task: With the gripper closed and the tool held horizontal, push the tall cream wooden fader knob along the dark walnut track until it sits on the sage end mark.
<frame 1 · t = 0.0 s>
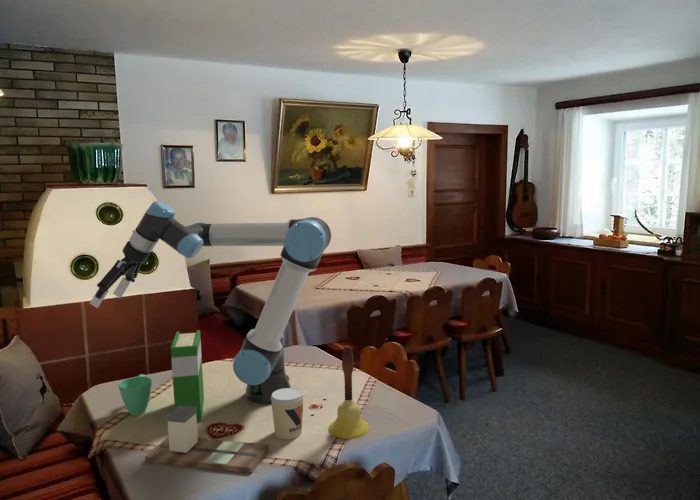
hand: (105, 300, 172), 36 cm above the table, tool tilted 35°, fingers open, 13 cm apart
coffee cup: (288, 433, 157), on the table
fader knob: (182, 428, 146), point 7 cm above the table, slide at 0.0 cm
fader track: (208, 455, 145), on the table
mug: (139, 409, 176), on the table
hardback book: (190, 411, 174), on the table
handbell: (349, 429, 159), on the table
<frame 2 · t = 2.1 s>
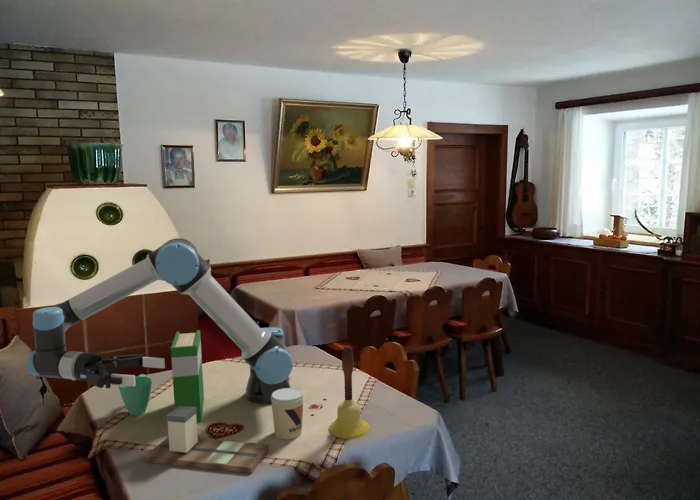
hand: (150, 371, 146), 22 cm above the table, tool horizontal, fingers open, 13 cm apart
nothing on the table moved.
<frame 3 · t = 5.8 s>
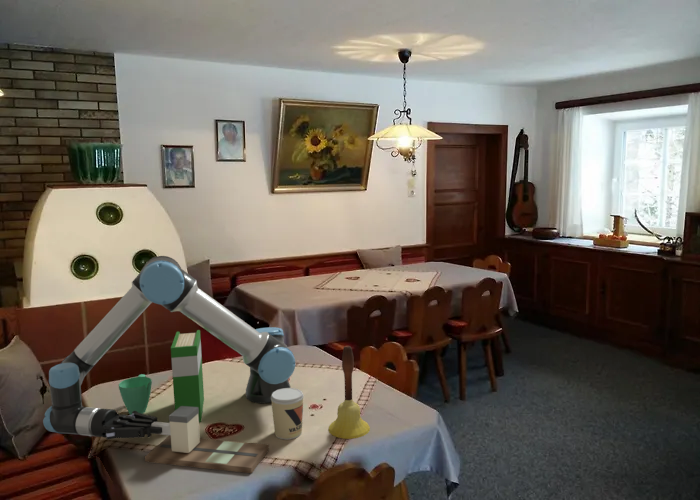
hand: (174, 429, 146), 7 cm above the table, tool horizontal, fingers closed
fader knob: (185, 429, 146), point 7 cm above the table, slide at 0.7 cm
everything else where it was.
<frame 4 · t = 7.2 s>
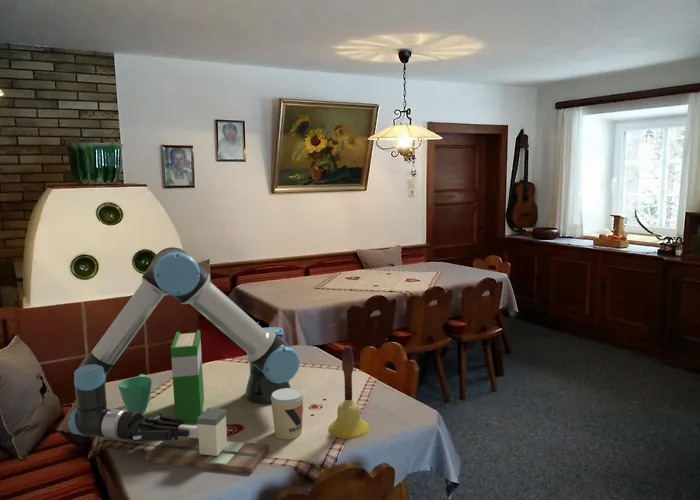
hand: (202, 432, 144), 7 cm above the table, tool horizontal, fingers closed
fader knob: (212, 431, 144), point 7 cm above the table, slide at 8.8 cm, touching gripper
everything else where it was.
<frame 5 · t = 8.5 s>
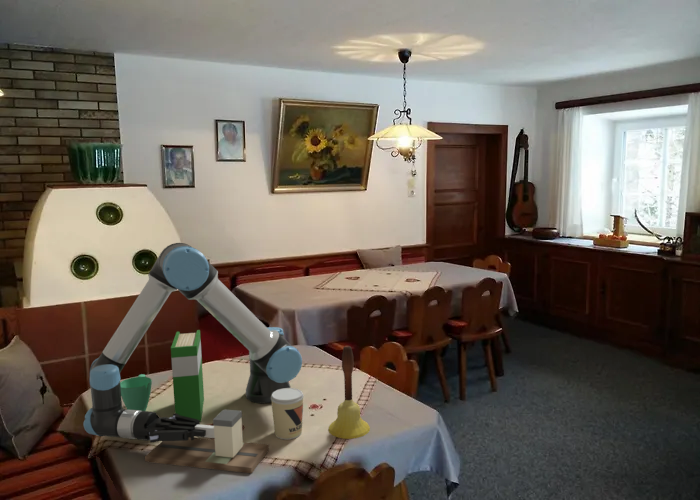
hand: (218, 432, 144), 7 cm above the table, tool horizontal, fingers closed
fader knob: (228, 433, 143), point 7 cm above the table, slide at 13.3 cm, touching gripper
everything else where it was.
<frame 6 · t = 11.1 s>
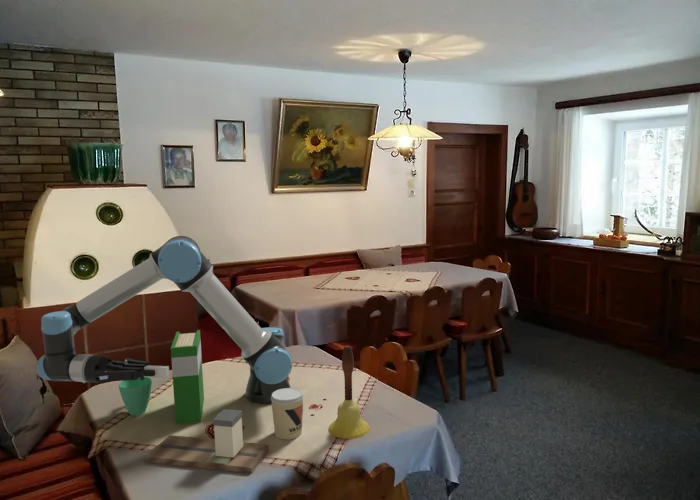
hand: (167, 371, 147), 22 cm above the table, tool horizontal, fingers closed
fader knob: (228, 433, 143), point 7 cm above the table, slide at 13.3 cm
everything else where it was.
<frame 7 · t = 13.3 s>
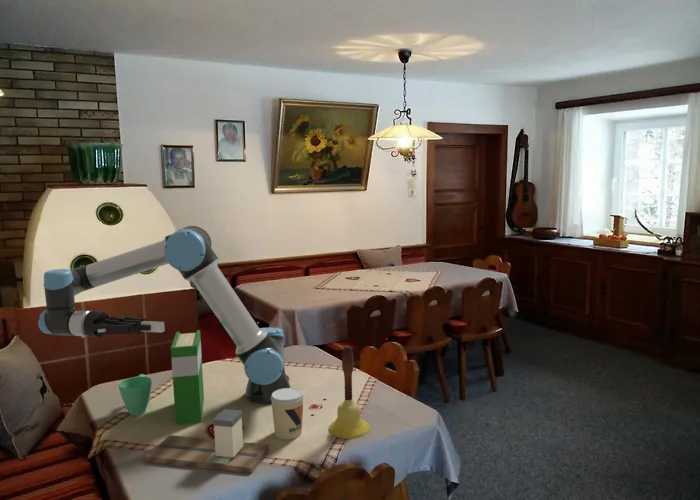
hand: (162, 327, 154), 32 cm above the table, tool horizontal, fingers closed
nothing on the table moved.
at the end: fader knob slide at 13.3 cm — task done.
